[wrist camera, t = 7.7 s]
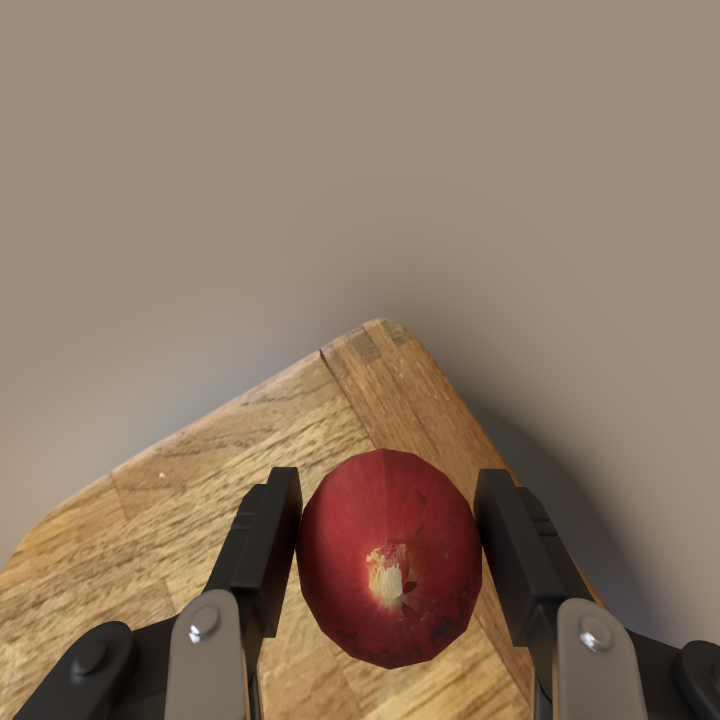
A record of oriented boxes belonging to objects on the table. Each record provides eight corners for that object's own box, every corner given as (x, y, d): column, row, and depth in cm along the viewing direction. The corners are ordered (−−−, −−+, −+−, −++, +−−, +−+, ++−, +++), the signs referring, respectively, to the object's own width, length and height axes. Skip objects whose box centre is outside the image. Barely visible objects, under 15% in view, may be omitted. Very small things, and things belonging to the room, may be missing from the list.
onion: (480, 543, 14) (612, 639, 6) (369, 636, 13) (363, 882, 5) (396, 429, 15) (418, 393, 8) (293, 505, 15) (203, 550, 7)
